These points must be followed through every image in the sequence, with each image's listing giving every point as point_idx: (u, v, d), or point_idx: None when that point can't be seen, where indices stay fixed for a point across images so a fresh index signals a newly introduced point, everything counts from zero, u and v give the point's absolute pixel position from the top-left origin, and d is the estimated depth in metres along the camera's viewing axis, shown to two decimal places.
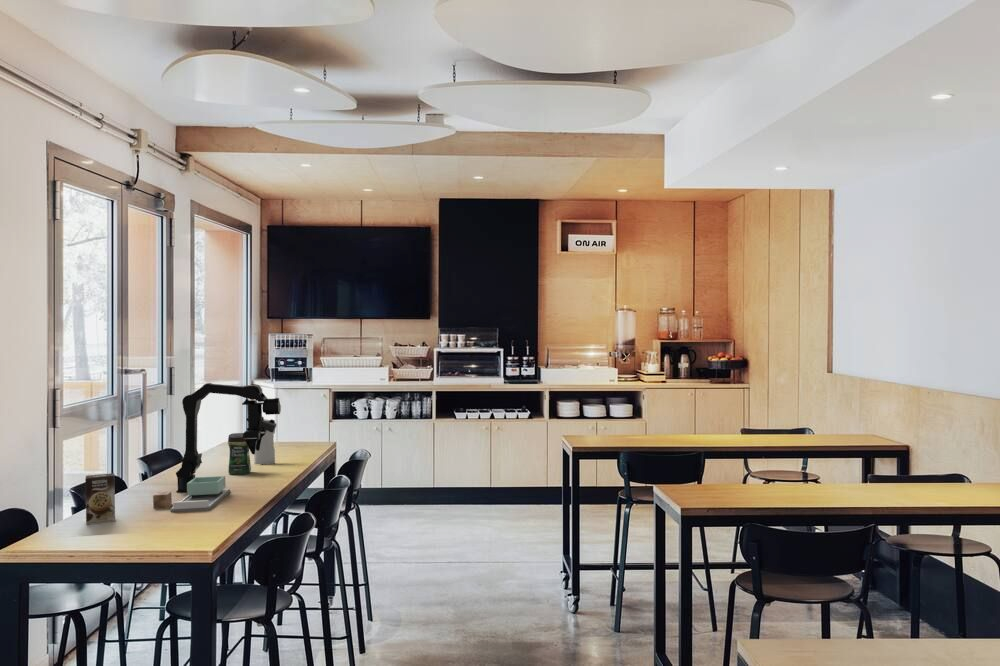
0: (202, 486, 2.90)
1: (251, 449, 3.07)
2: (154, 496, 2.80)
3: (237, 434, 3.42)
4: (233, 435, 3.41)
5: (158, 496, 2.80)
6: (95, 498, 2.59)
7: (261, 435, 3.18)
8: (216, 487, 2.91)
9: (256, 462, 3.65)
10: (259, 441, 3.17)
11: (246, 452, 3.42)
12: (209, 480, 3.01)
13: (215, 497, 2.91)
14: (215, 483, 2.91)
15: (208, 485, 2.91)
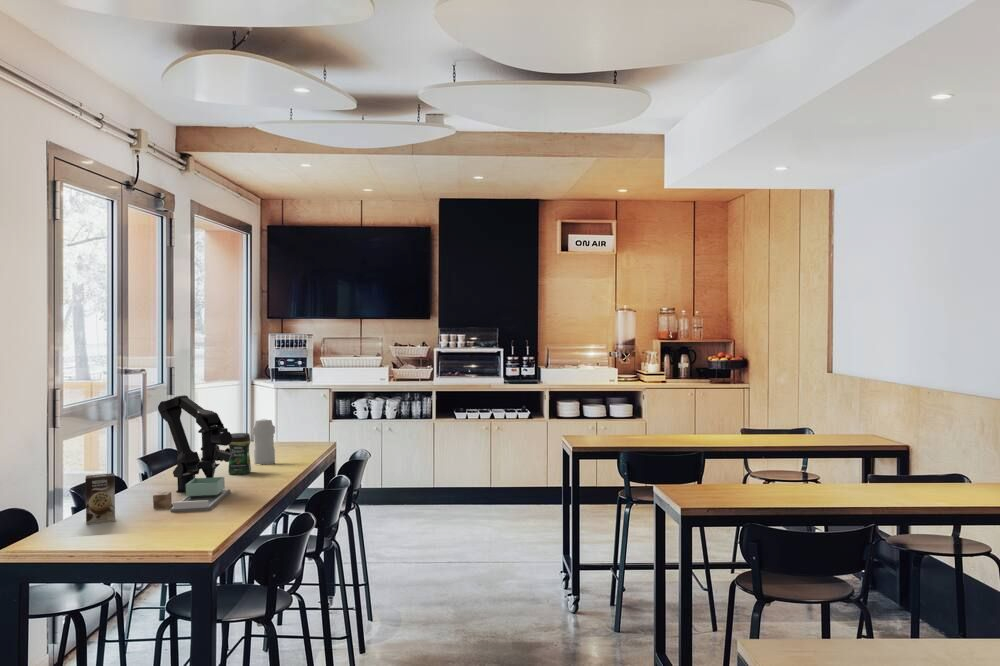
0: (201, 486, 2.89)
1: None
2: (154, 496, 2.80)
3: (237, 434, 3.42)
4: (233, 435, 3.42)
5: (158, 496, 2.80)
6: (95, 498, 2.59)
7: None
8: (215, 488, 2.89)
9: (256, 462, 3.65)
10: None
11: (246, 452, 3.42)
12: (208, 481, 2.99)
13: (215, 497, 2.91)
14: (214, 484, 2.89)
15: (207, 486, 2.89)
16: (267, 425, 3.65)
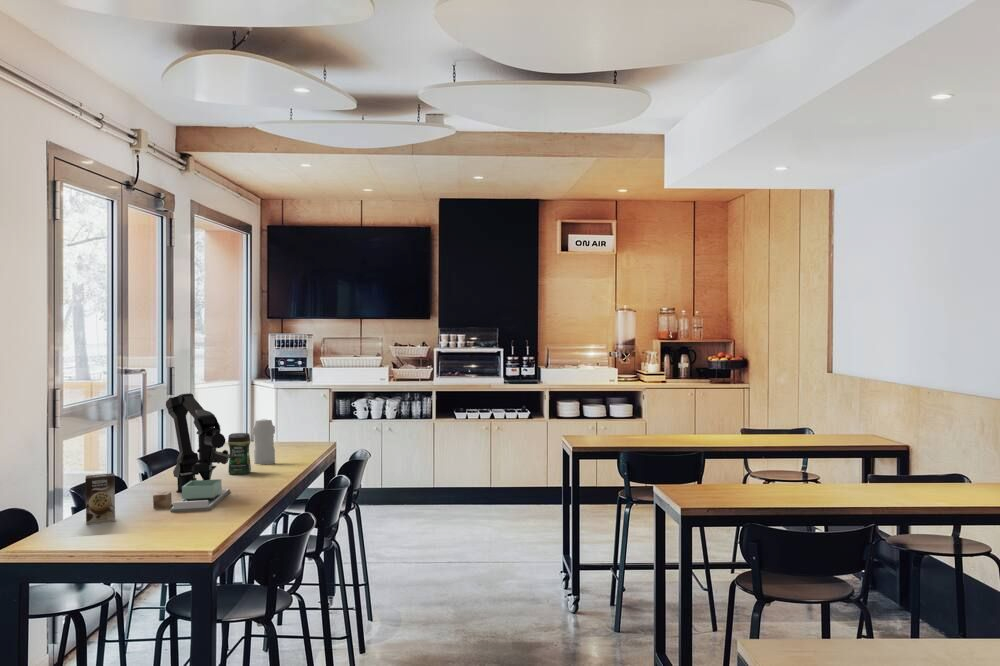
0: (197, 489, 2.84)
1: None
2: (154, 496, 2.80)
3: (237, 434, 3.42)
4: (233, 435, 3.41)
5: (158, 496, 2.80)
6: (95, 498, 2.59)
7: (211, 468, 2.98)
8: (212, 491, 2.85)
9: (256, 462, 3.65)
10: None
11: (246, 452, 3.42)
12: (205, 483, 2.95)
13: (215, 497, 2.91)
14: (211, 486, 2.85)
15: (204, 489, 2.84)
16: (267, 425, 3.65)
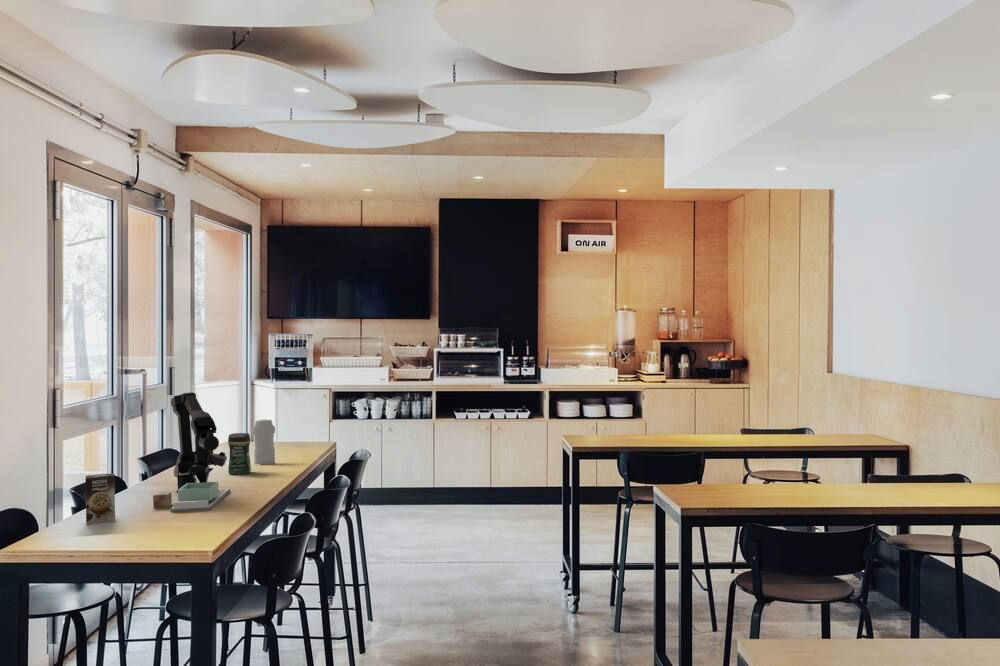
0: (194, 492, 2.79)
1: (201, 482, 2.91)
2: (154, 496, 2.80)
3: (237, 434, 3.42)
4: (233, 435, 3.41)
5: (158, 496, 2.80)
6: (95, 498, 2.59)
7: (208, 471, 2.93)
8: (208, 493, 2.80)
9: (256, 462, 3.65)
10: None
11: (246, 452, 3.42)
12: (201, 486, 2.90)
13: (215, 497, 2.91)
14: (207, 489, 2.80)
15: (200, 491, 2.79)
16: (267, 425, 3.65)
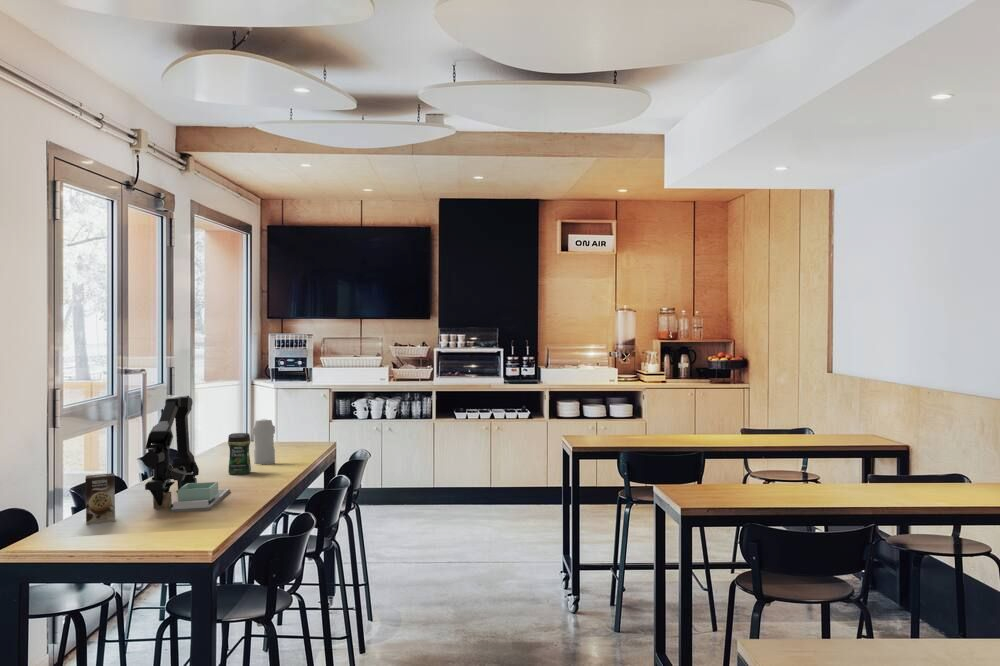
0: (193, 492, 2.79)
1: (157, 500, 2.79)
2: None
3: (237, 434, 3.42)
4: (233, 435, 3.41)
5: None
6: (95, 498, 2.59)
7: (168, 485, 2.86)
8: (208, 494, 2.80)
9: (256, 462, 3.65)
10: (166, 491, 2.85)
11: (246, 452, 3.42)
12: (201, 486, 2.90)
13: (215, 497, 2.91)
14: (207, 489, 2.80)
15: (200, 491, 2.79)
16: (267, 425, 3.65)
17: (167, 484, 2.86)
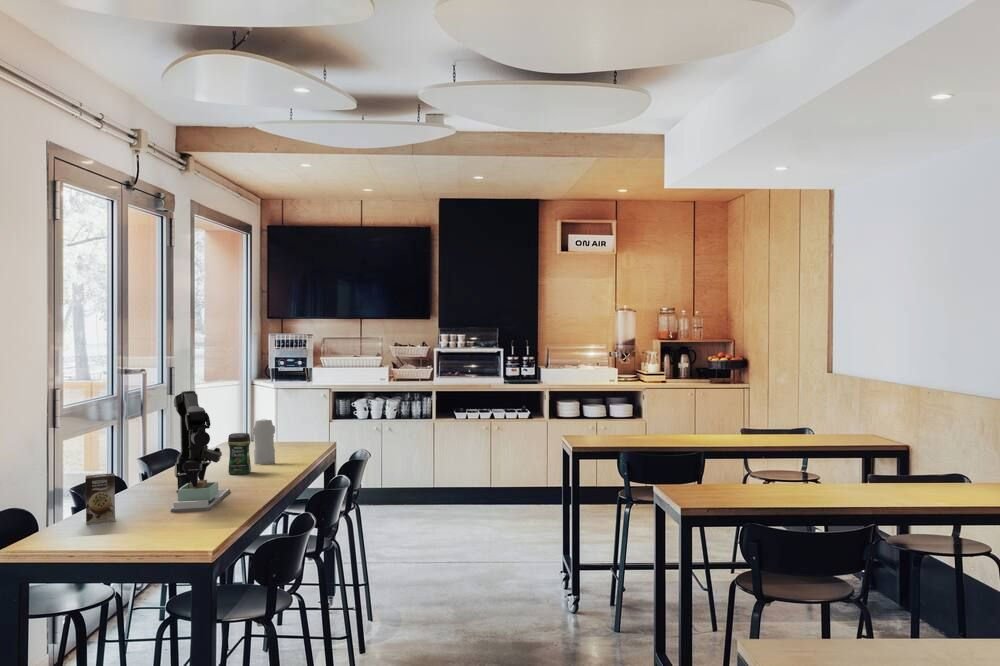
0: (193, 492, 2.79)
1: (192, 481, 2.80)
2: (191, 484, 2.82)
3: (237, 434, 3.42)
4: (233, 435, 3.41)
5: None
6: (95, 498, 2.59)
7: (205, 465, 2.90)
8: (208, 494, 2.80)
9: (256, 462, 3.65)
10: (203, 471, 2.90)
11: (246, 452, 3.42)
12: None
13: (215, 497, 2.91)
14: (207, 489, 2.80)
15: (200, 491, 2.79)
16: (267, 425, 3.65)
17: (204, 464, 2.90)
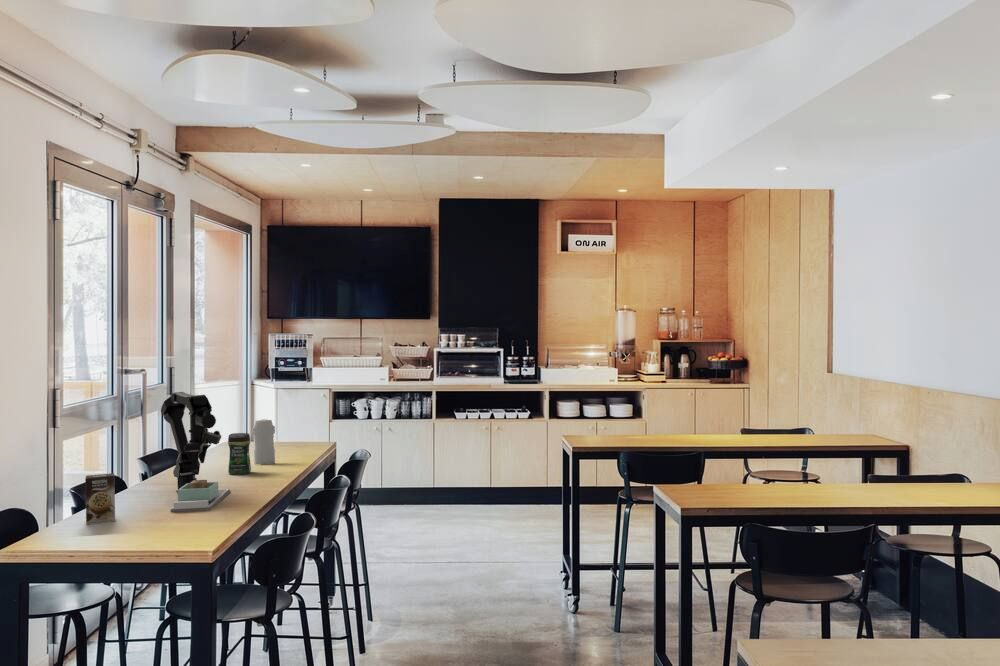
0: (193, 492, 2.79)
1: (193, 462, 2.95)
2: (191, 484, 2.82)
3: (237, 434, 3.42)
4: (233, 435, 3.41)
5: (195, 484, 2.83)
6: (95, 498, 2.59)
7: (206, 447, 3.06)
8: (208, 494, 2.80)
9: (256, 462, 3.65)
10: (203, 453, 3.05)
11: (246, 452, 3.42)
12: None
13: (215, 497, 2.91)
14: (207, 489, 2.80)
15: (200, 491, 2.79)
16: (267, 425, 3.65)
17: (204, 446, 3.05)
